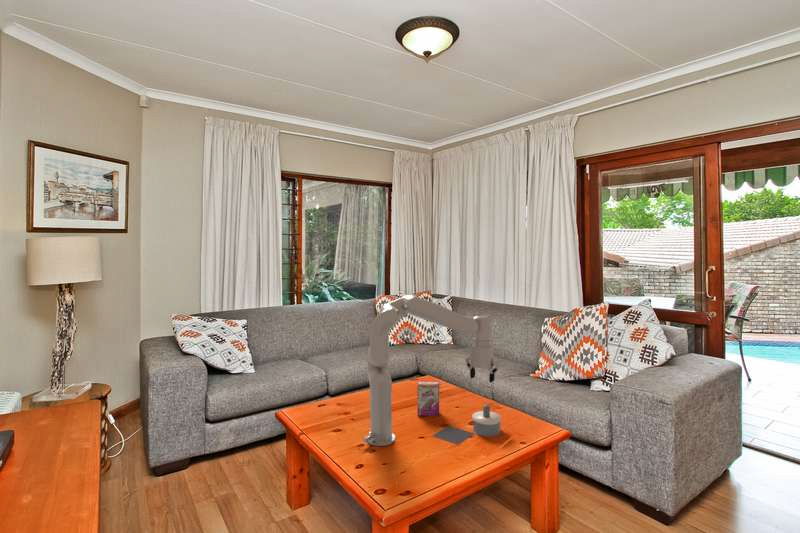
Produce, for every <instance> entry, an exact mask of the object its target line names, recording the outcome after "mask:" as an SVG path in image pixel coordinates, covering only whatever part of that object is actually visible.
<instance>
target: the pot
mask: <svg viewBox="0 0 800 533" xmlns="http://www.w3.org/2000/svg"><path fill="white" fill-rule="evenodd" d="M472 421H473V420H472ZM472 424H473V433H475V434H476V435H477V436H482V437H489V438H490V437H497V436H498V435H500V434H501V422H500V423H498V424H494V425H483V424H479V423H476V422H475V421H473V423H472Z"/></svg>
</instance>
